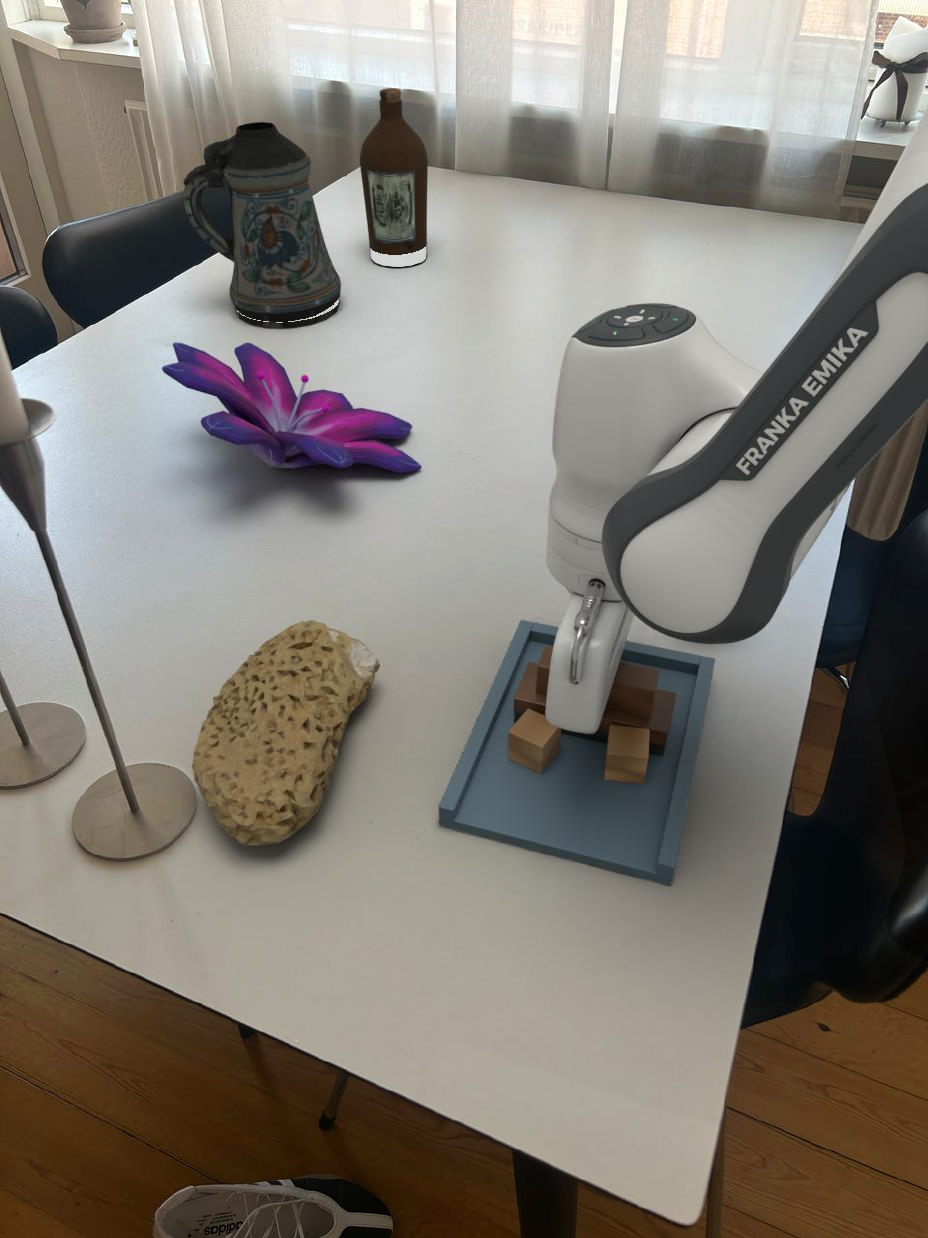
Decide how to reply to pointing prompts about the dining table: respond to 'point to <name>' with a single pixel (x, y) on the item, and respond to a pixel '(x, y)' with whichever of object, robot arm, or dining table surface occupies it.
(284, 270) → the beer stein
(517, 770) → the tray
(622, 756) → the light brown wooden cube
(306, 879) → the dining table surface
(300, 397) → the decorative flower
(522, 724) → the brown wooden cube
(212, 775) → the sponge
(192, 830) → the dining table surface
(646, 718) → the brush
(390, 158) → the olive oil
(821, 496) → the robot arm
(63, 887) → the dining table surface
